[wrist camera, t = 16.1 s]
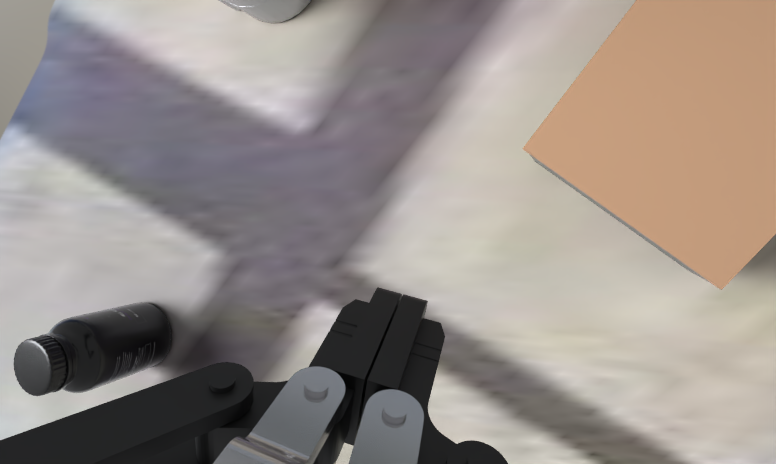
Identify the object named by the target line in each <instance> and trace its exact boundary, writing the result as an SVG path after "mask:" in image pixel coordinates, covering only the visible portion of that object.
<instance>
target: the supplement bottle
mask: <svg viewBox="0 0 776 464" xmlns="http://www.w3.org/2000/svg"><path fill="white" fill-rule="evenodd" d="M170 346H171V329H170V325H169V323H168V320H167V318H166V317H165V315H164V314H163V313H162V311H161V310H159V309H158V308H157V307H156V306H154V305H152V304H149V303H135V304H130V305H125V306H121V307H116V308H112V309H107V310H103V311H98V312H93V313H89V314H84V315H80V316H75V317H71V318H67V319H64V320H62V321H60V322H59V323H57V324H56V325H55V326H54V327H53V328H52V329H51V330H50V332H49V333H48V334H44V335H41V336H39V337H35V338H31V339H27V340H25V341H24V342H22V343H21V344H20V345H19V346H18V348H17V349H16V353H15V357H14V371H15V375H16V377H17V380H18V382H19V384H20V386H21V387H22V389H24V390H25V391H26V392H28V393H29V394H31V395H33V396H40V395H45V394H48V393H50V392H56V391H59V390H62V389H63V390H65V391H68V392H72V393H83V392H86V391H90V390H92V389H95V388H98V387H100V386H103V385H106V384H108V383H111V382H114V381H116V380H119V379H122V378H124V377H127V376H130V375H132V374H135V373H138V372H140V371H143V370H145V369H148V368H150V367H153V366H155V365H157V364H159V363H160V362H161V361H162V360H163V359H164V358H165V357H166V355H167V354H168V352H169V349H170Z"/></svg>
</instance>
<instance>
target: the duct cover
mask: <svg viewBox="0 0 776 464" xmlns="http://www.w3.org/2000/svg"><path fill="white" fill-rule="evenodd" d="M523 150H524V151H526V152H527V153H529V154H530V155H531V156H533V157H534V158H536V159H537V160H538V161H540V162H541V163H543V164H544V165H546V166H547V167H548V168H550V169H551V170H553V171H554V172H555V173H557V174H558V175H560V176H561V177H562V178H564V179H565V180H567V181H568V182H569V183H571V184H572V185H574V186H575V187H577V188H578V189H579V190H581V191H582V192H584V193H585V194H586V195H588V196H589V197H591V198H592V199H593V200H595V201H596V202H598V203H599V204H600V205H602V206H603V207H605V208H606V209H608V210H609V211H610V212H612V213H613V214H615V215H616V216H617V217H619V218H620V219H622V220H623V221H624V222H626V223H627V224H629V225H630V226H631V227H633V228H634V229H636V230H637V231H639V232H640V233H641V234H643V235H644V236H646V237H647V238H648V239H650V240H651V241H653V242H654V243H655V244H657V245H658V246H660V247H661V248H662V249H664V250H665V251H667V252H668V253H670V254H671V255H672V256H674V257H675V258H677V259H678V260H679V261H681V262H682V263H684V264H685V265H686V266H688V267H689V268H691V269H692V270H693V271H695V272H696V273H698V274H699V275H701V276H702V277H703V278H705V279H706V280H708V281H709V282H710V283H712V284H713V285H715V286H716V287H718V288H719V289H721V290H722V289H723V288H724V287H725V286H726V285H727V284H728V283H729V282H730V281H731V280H732V279H733V278H734V276H735V275H736V274H737V273H738V272H739V271H740V270H741V269H742V268H743V267H744V266H745V265H746V264H747V263H748V262H749V261H750V260H751V259H752V258H753V257H754V256H755V255H756V254H757V253H758V252H759V251H760V250H761V249H762V248H763V247H764V246H765V245H766V244H767V242H768V241H769V240H770V239H771V238H772V237H773V236H774V235H775V234H776V0H636V1H635V3H634V4H633V5H632V7H631V8H630V9H629V11H628V12H627V13H626V14H625V16H624V17H623V18H622V20H621V21H620V22H619V24H618V25H617V26H616V28H615V29H614V30H613V31H612V33H611V34H610V35H609V37H608V38H607V39H606V41H605V42H604V43H603V44H602V46H601V47H600V48H599V50H598V51H597V52H596V54H595V55H594V56H593V57H592V59H591V60H590V61H589V63H588V64H587V65H586V67H585V68H584V69H583V70H582V72H581V73H580V74H579V76H578V77H577V78H576V80H575V81H574V82H573V84H572V85H571V86H570V87H569V89H568V90H567V91H566V93H565V94H564V95H563V97H562V98H561V99H560V100H559V102H558V103H557V104H556V106H555V107H554V108H553V110H552V111H551V112H550V113H549V115H548V116H547V117H546V119H545V120H544V121H543V123H542V124H541V125H540V126H539V128H538V129H537V130H536V132H535V133H534V134H533V136H532V137H531V138H530V140H529V141H528V142H527V143H526V145H525V146H524V147H523Z"/></svg>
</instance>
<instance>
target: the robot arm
mask: <svg viewBox="0 0 776 464" xmlns="http://www.w3.org/2000/svg"><path fill="white" fill-rule="evenodd" d="M219 1H221V2H222V3H224V4H226V5H227V6H229V7H231V8H233V9H234V10H242V11H244V12H245V13H247V14H249V15H250V16H252V17H254V18H256V19H258V20H260V21H262V22H268V23H278V22H283V21H286V20H289V19H291V18H293V17H294V16H296V15H297V14H299V13H300V12H301V11H302V10H303V9H304V8H305V7H306V6H307V5H308V4H309V2H310V1H311V0H219ZM427 302H428V301H426V300H422V299H418V298H415V297H411V296H408V295H403V296H402V294H400V293H396V292H393V291H389V290H385V289H382V288H377V289H376V291H375V293H374V295H373V297H372V299H371V301H370V303H367V302H364V301H360V300H356V299H355V300H354V301H352V302H351V303H349V304H348V305H346V306H345V307H343V308H342V310H341V312H340V314H339V315H338V317H337V319H336V322H334V324H333V326H332V327H331V329H330V332H329V333H328V334H327V336H326V338H325V340H324V341H323V343H322V345H321V346H320V348H319V350H318V352H317V353H316V355H315V357H314V359H313V360H312V362H311V364H310V365H309V367H308V368H304V369H301V370H299V371H298V372H296V373H295V374H294V375H293V376H292V377H291V378H290V379H289V380H288V381H284V382H253V377H252V374H251V373H250V372H249V370H248V369H246V368H245V367H243V366H242V365H239V364H235V363H228V362H226V363H217V364H214V365H211V366H208V367H205V368H202V369H199V370H197V371H194V372H191V373H188V374H185V375H182V376H180V377H177V378H174V379H171V380H168V381H166V382H163V383H160V384H157V385H154V386H152V387H149V388H146V389H143V390H140V391H138V392H135V393H132V394H129V395H126V396H124V397H121V398H118V399H115V400H112V401H110V402H107V403H104V404H101V405H98V406H96V407H93V408H90V409H87V410H84V411H82V412H79V413H76V414H73V415H70V416H68V417H65V418H62V419H59V420H56V421H54V422H51V423H48V424H45V425H42V426H40V427H37V428H34V429H31V430H28V431H26V432H23V433H20V434H17V435H14V436H11V437H9V438H6V439H3V440H0V464H335V463H336V460H337V458H338V456H339V454H340V451H341V449H342V447H343V444H344V443H347V444H350V445H354V447H353V451H352V454H351V457H350V461H349V464H508V463H507V461H506V460H505V458H504V457H503V456H502V455H501V454H500V453H499V452H498V451H497V450H496V449H494V448H493V447H491V446H490V445H488V444H485V443H483V442H479V441H464V442H461V443H458V444H456V443H454V442H453V441H451V440H450V439H448V438H447V437H445V436H444V435H443V434H441V433H440V432H439V431H438V430H437V429H436V428H435V426H434V425H433V423H432V422H431V420H430V417H429V414H428V402H429V398H430V394H431V390H432V386H433V382H434V378H435V374H436V370H437V366H438V362H439V358H440V354H441V350H442V346H443V342H444V338H445V335H444V332H443V329H442V326H441V323H439V322H435V321H432V320H428V319H424V316H425V312H426V307H427Z"/></svg>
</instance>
